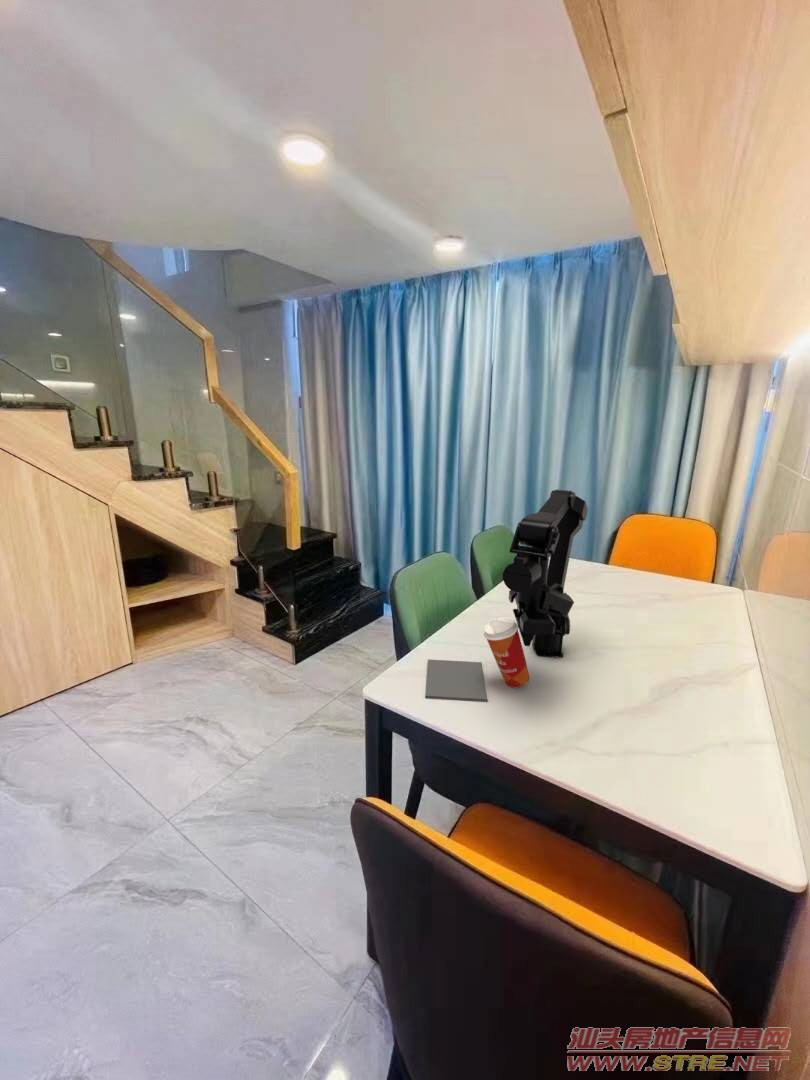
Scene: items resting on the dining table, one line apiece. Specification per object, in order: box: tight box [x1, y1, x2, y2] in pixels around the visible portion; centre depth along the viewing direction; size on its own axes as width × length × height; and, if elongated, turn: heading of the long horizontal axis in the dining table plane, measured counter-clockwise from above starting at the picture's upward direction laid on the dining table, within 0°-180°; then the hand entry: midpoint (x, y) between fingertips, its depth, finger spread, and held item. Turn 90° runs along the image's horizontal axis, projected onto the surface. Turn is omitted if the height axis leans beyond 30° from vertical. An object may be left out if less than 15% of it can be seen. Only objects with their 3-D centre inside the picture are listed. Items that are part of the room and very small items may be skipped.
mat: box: [425, 659, 488, 703], centre depth 100 cm, size 13×15×1 cm
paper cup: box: [483, 617, 530, 688], centre depth 97 cm, size 8×8×14 cm
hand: (526, 645), depth 96 cm, fingers closed
